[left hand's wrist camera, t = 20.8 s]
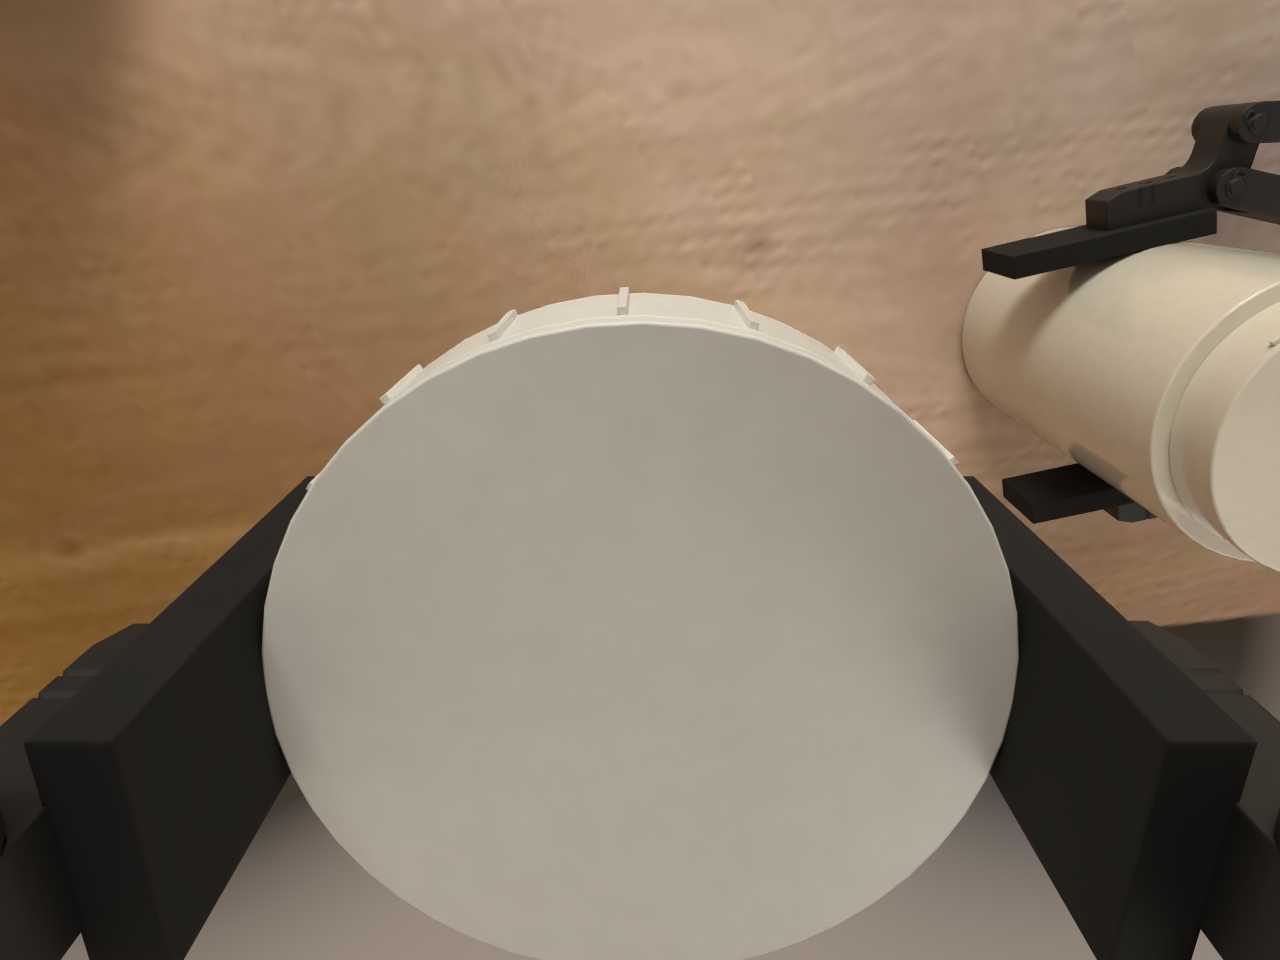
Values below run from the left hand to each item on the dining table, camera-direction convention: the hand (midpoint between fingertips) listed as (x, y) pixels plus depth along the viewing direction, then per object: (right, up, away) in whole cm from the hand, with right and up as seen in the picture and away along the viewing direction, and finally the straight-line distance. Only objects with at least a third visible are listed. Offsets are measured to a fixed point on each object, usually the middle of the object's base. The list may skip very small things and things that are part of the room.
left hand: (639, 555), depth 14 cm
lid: (0, -1, -3) cm, 4 cm away
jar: (+18, +8, +22) cm, 30 cm away
